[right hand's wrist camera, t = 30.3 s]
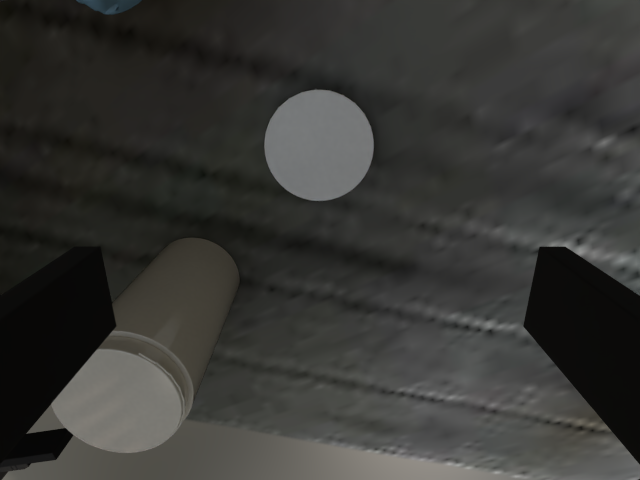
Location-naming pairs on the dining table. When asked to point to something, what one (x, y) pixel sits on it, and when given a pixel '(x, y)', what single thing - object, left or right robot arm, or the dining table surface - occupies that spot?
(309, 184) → the lid
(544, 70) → the dining table surface
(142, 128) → the dining table surface
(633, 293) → the right robot arm
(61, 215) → the dining table surface
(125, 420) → the jar
